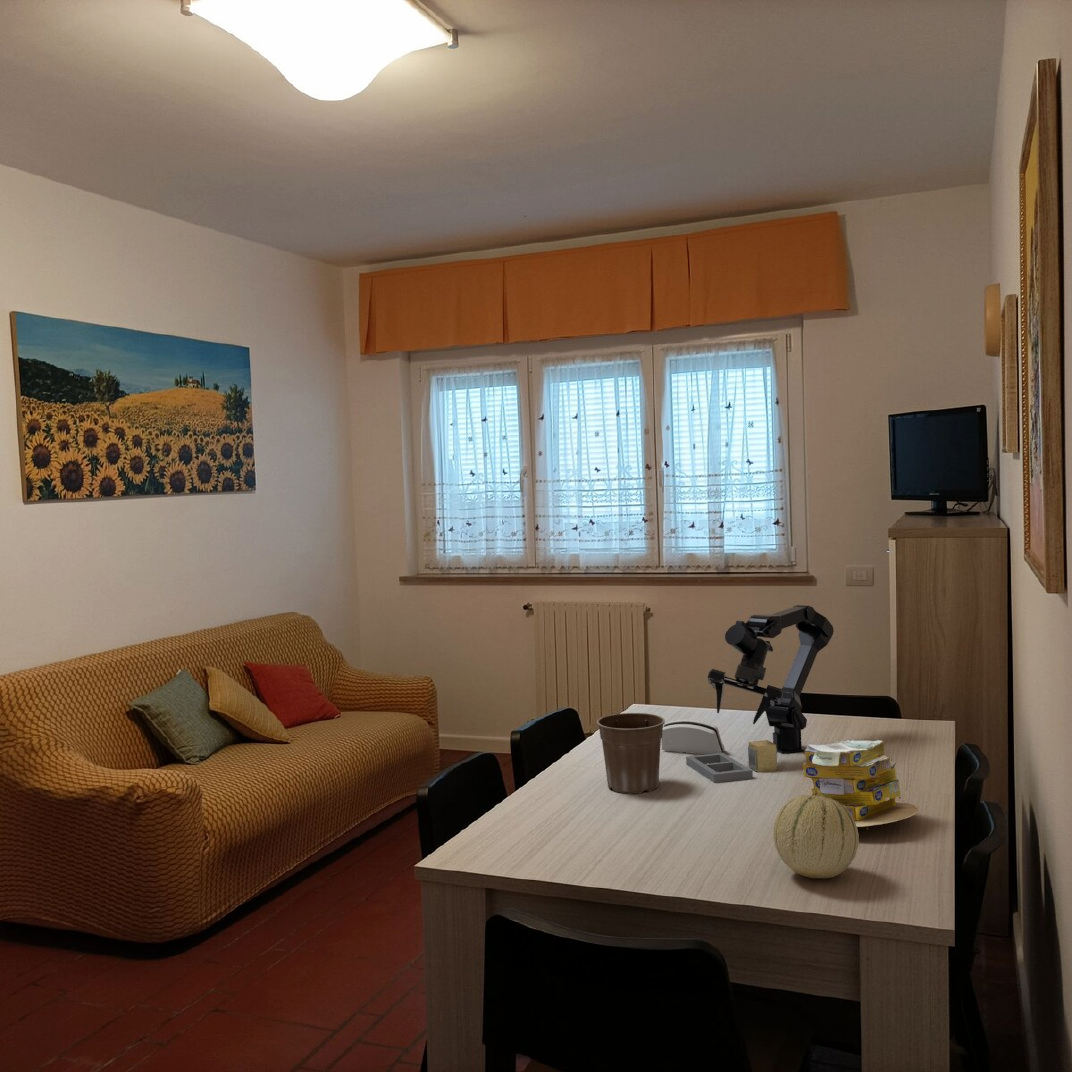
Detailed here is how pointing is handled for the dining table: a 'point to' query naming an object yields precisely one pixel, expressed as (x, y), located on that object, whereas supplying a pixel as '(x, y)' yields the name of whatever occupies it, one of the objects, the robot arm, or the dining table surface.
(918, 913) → the dining table surface
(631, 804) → the dining table surface
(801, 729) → the robot arm
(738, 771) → the gray rectangular tray
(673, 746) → the grey arched block
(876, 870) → the dining table surface
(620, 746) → the plant pot
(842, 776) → the stacked yellow boxes
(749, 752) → the metal-backed wooden cube
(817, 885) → the dining table surface
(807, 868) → the cantaloupe
